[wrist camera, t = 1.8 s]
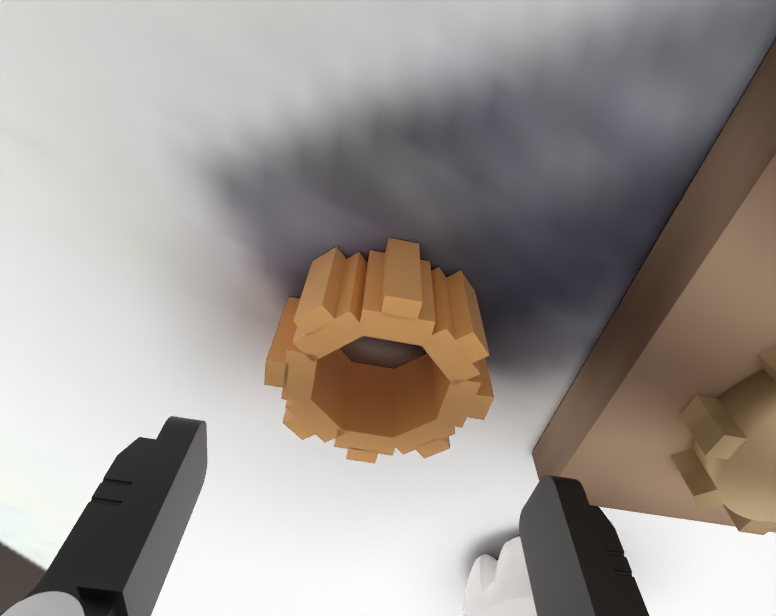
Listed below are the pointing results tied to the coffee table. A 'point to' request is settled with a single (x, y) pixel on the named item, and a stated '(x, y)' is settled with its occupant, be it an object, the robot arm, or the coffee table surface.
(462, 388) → the gear
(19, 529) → the coffee table surface
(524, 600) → the water bottle
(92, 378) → the coffee table surface
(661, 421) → the gear board
